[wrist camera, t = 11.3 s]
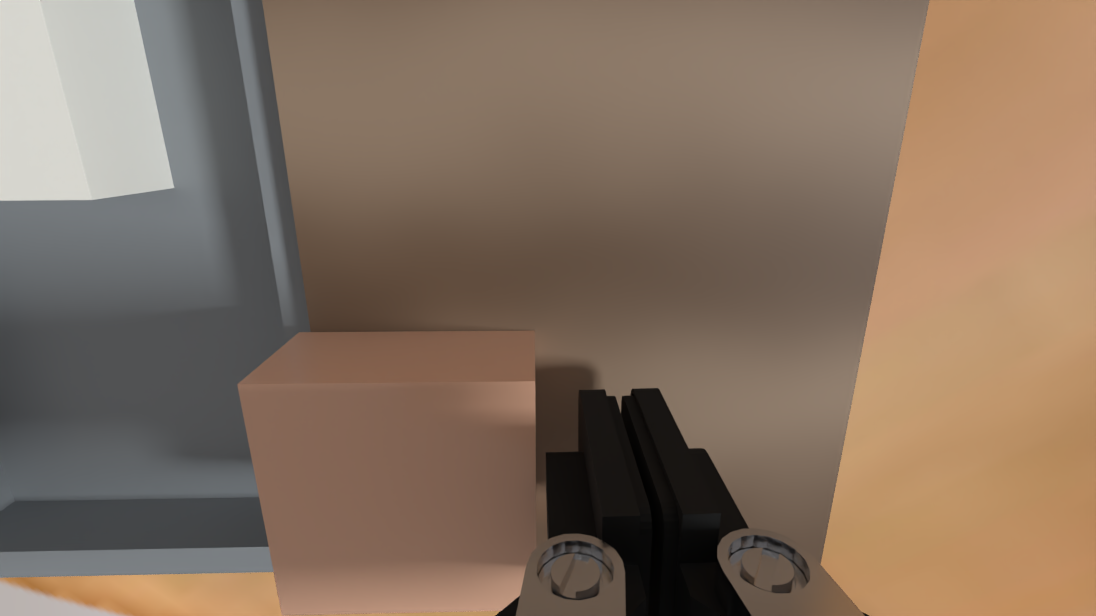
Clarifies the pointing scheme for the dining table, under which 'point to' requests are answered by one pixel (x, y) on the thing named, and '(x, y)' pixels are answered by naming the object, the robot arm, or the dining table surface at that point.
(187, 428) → the box
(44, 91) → the white block
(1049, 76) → the dining table surface
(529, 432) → the terracotta tile
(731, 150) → the walnut board
